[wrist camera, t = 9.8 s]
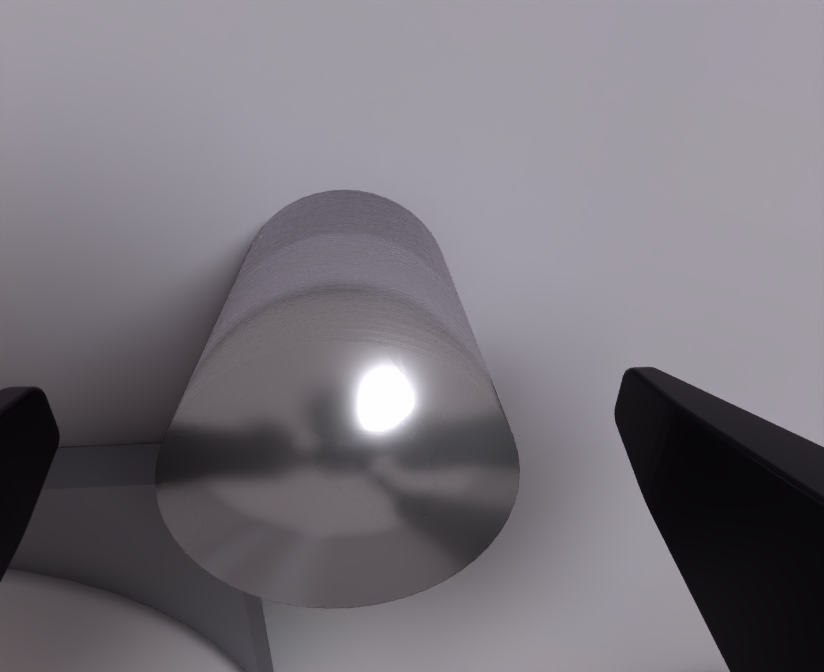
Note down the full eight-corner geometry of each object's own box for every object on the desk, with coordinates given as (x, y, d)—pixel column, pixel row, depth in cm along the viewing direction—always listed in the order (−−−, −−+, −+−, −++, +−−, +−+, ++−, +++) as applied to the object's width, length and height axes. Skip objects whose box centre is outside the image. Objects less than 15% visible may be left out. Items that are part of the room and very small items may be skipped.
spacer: (443, 372, 13) (500, 596, 8) (256, 378, 13) (190, 619, 8) (453, 189, 11) (542, 336, 6) (229, 189, 11) (112, 348, 5)
